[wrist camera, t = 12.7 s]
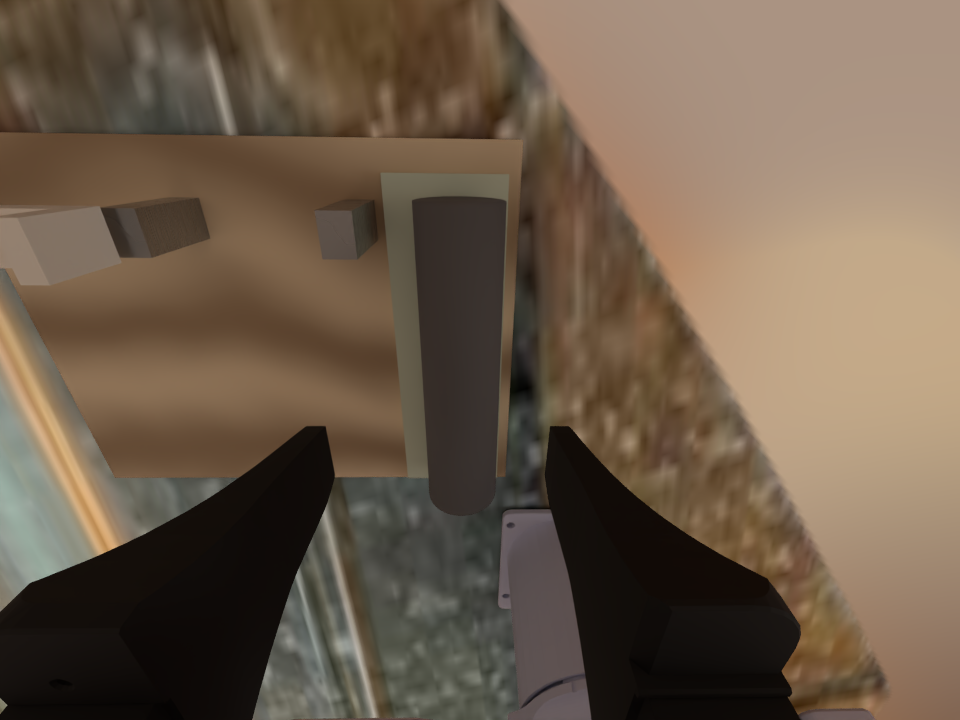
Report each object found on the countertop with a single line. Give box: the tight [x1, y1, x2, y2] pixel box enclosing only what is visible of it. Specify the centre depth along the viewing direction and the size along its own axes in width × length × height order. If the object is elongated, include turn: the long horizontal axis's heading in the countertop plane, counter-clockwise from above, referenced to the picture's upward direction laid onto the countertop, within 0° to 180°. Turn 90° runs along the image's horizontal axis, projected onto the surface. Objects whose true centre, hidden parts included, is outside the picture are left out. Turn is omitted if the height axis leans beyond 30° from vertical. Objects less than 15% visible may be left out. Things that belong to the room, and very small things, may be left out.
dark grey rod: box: [412, 196, 507, 516], centre depth 18 cm, size 14×3×3 cm, turn 179°
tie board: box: [0, 132, 523, 478], centre depth 18 cm, size 17×22×4 cm
